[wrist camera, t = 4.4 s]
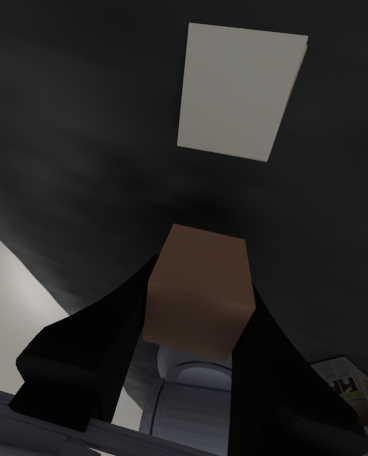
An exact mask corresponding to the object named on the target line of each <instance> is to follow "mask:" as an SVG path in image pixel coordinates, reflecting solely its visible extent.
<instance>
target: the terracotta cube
mask: <svg viewBox="0 0 368 456" xmlns="http://www.w3.org/2000/svg"><path fill="white" fill-rule="evenodd" d="M255 308H256V305H255V299H254V293H253V287H252V281H251V275H250V269H249V263H248V257H247V251H246V245H245V240H244V239H239V238H235V237H231V236H226V235H222V234H217V233H213V232H209V231H204V230H200V229H195V228H191V227H187V226H182V225H178V224H173V226H172V228H171V231H170V233H169V235H168V237H167V240H166V242H165V244H164V246H163V249H162V251H161V253H160V255H159V258H158V260H157V262H156V265H155V267H154V269H153V271H152V274H151V276H150V278H149V280H148V289H147V300H146V310H145V321H144V331H143V341H147V342H151V343H155V344H158V345H162V346H166V347H170V348H174V349H177V350H181V351H185V352H189V353H192V354H196V355H200V356H204V357H207V358H211V359H215V360H219V361H222V362H227V360H228V358H229V356H230V354H231V352H232V350H233V349H234V347H235V345H236V343H237V341H238V339H239V338H240V336H241V334H242V332H243V330H244V328H245V327H246V325H247V323H248V321H249V319H250V317H251V316H252V314H253V312H254V310H255Z"/></svg>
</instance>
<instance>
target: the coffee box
mask: <svg viewBox="0 0 368 456" xmlns="http://www.w3.org/2000/svg"><path fill="white" fill-rule="evenodd" d="M310 366H311V367H312V368H313V369H314V370H315V371H316V372H317V373H318V374H319V375H320V376H321V377H322V378H323V379H324V380H325V381H326V382H327V384H328V385H329V386H330V387H331V388H333V389H334V390H335V391H336V392H337V393H338V394H339V395H340V396H341V397H342V398H343V399H344V400H345V401H346V402H347V403H348V404H349V405H350V406H351V407H353V408H354V409H355V410H356V412H357V414H358V416H359V418H360V420H361V422H362V424H363V427H364V429H365V431H366V434H367V436H368V377H367V376H366V375H365V374H364V373H362V372H361V371H360V370H359V369H358V368H357V367H356V366H355V365H354V364H353V363H351V362H350V361H349V360H348V359H347V358H346V357H345V356H342V357H339V358H335V359H331V360H327V361H323V362H319V363H315V364H311V365H310ZM362 456H368V453H366V454H365V455H362Z"/></svg>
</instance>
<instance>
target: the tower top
mask: <svg viewBox="0 0 368 456" xmlns="http://www.w3.org/2000/svg"><path fill="white" fill-rule="evenodd" d="M307 39H308V36H303V35H294V34H285V33H276V32H267V31H258V30H249V29H240V28H231V27H222V26H213V25H204V24H195V23H189V30H188V41H187V51H186V61H185V71H184V81H183V91H182V101H181V111H180V122H179V132H178V142H177V146H182V147H188V148H195V149H201V150H207V151H213V152H220V153H226V154H232V155H238V156H244V157H251V158H257V159H263V160H268V157H269V154H270V151H271V148H272V145H273V142H274V139H275V136H276V133H277V130H278V127H279V124H280V121H281V118H282V115H283V112H284V109H285V106H286V103H287V100H288V97H289V93H290V90H291V87H292V84H293V81H294V78H295V75H296V72H297V69H298V66H299V63H300V60H301V57H302V54H303V51H304V48H305V45H306V42H307Z"/></svg>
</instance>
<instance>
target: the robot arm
mask: <svg viewBox="0 0 368 456" xmlns="http://www.w3.org/2000/svg"><path fill="white" fill-rule="evenodd" d="M158 258H159V255H158V254H155V255H153V256H152V258H151V259H150V260H149V261H148V262H147V263H146V264H145V265H144V266H143V267H142V268H141V269H140V270H139V271H138V272H136V273H135V274H134V275H133V276H132V277H131V278H130V279H128V280H127V281H126V282H125V283H123V284H122V285H121V286H120V287H118V288H117V289H115V290H114V291H113V292H111V293H110V294H108V295H107V296H105V297H103V298H102V299H100V300H99V301H97V302H95V303H94V304H92V305H90V306H88V307H86V308H84V309H82V310H81V311H79V312H77V313H75V314H73V315H71V316H69V317H67V318H64V319H62V320H60V321H58V322H55V323H53V324H51V325H48V326H46V327H44V328H43V329H42V330H41V331H40V332H39V333H38V334H37V335H36V336H35V337H34V339H33V340H32V341H31V342H30V343H29V344H28V346H27V347H26V348H25V349H24V350H23V352H22V353H21V354H20V355H19V356H18V358H17V359H16V366H17V369H18V371H19V373H20V374H21V376H22V378H23V379H24V381H25V382H24V384H23V385H22V386H21V388H20V389H19V391H18V392H17V393H16V395H13V394H9V393H6V392H3V391H0V456H101V454H100V453H98V452H96V451H93V450H92V449H90V448H93V449H96V450H99V451H102V452H105V453H109V454H112V455H115V456H362V455H365V454H366V453H368V436H367V434H366V431H365V429H364V427H363V424H362V422H361V420H360V418H359V416H358V414H357V412H356V410H355V409H354V408H353V407H351V406H350V405H349V404H348V403H347V402H346V401H345V400H344V399H343V398H342V397H341V396H340V395H339V394H338V393H337V392H336V391H335V390H334V389H333V388H331V387H330V386H329V385H328V384H327V382H326V381H325V380H324V379H323V378H322V377H321V376H320V375H319V374H318V373H317V372H316V371H315V370H314V369H313V368H312V367H311V366H310V364H309V363H308V362H307V361H306V360H305V359H304V358H303V356H302V355H301V354H300V353H299V352H298V351H297V349H296V348H295V347H294V346H293V345H292V343H291V342H290V341H289V339H288V338H287V337H286V335H285V334H284V333H283V331H282V330H281V329H280V327H279V326H278V324H277V323H276V321H275V320H274V318H273V317H272V315H271V314H270V312H269V310H268V309H267V307H266V305H265V304H264V302H263V300H262V299H261V297H260V295H259V293H258V291H257V289H256V288H255V286H254V284H253V282H252V287H253V293H254V299H255V305H256V308H255V310H254V312H253V314H252V316H251V317H250V319H249V321H248V323H247V325H246V327H245V328H244V330H243V332H242V334H241V336H240V338H239V339H238V341H237V343H236V345H235V347H234V349H233V350H232V352H231V354H230V356H229V358H228V360H227V362H222V361H219V360H215V359H211V358H207V357H204V356H200V355H196V354H192V353H189V352H185V351H181V350H177V349H174V348H170V347H166V346H162V345H160V347H159V351H158V370H159V374H160V376H161V378H159V379H158V380H157V382H156V383H155V384H154V385H153V386H152V388H151V389H150V391H149V394H148V396H147V399H146V402H145V405H144V409H143V413H142V417H141V422H140V428H139V432H138V431H135V430H131V429H127V428H124V427H121V426H117V425H114V424H111V422H112V419H113V416H114V413H115V409H116V406H117V403H118V400H119V397H120V393H121V390H122V387H123V384H124V381H125V378H126V375H127V372H128V368H129V365H130V362H131V359H132V356H133V353H134V350H135V347H136V345H137V342H138V339H139V336H140V333H141V331H142V328H143V326H144V321H145V310H146V300H147V289H148V280H149V278H150V276H151V274H152V271H153V269H154V267H155V265H156V262H157V260H158ZM251 281H252V280H251ZM88 447H89V448H88Z"/></svg>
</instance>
